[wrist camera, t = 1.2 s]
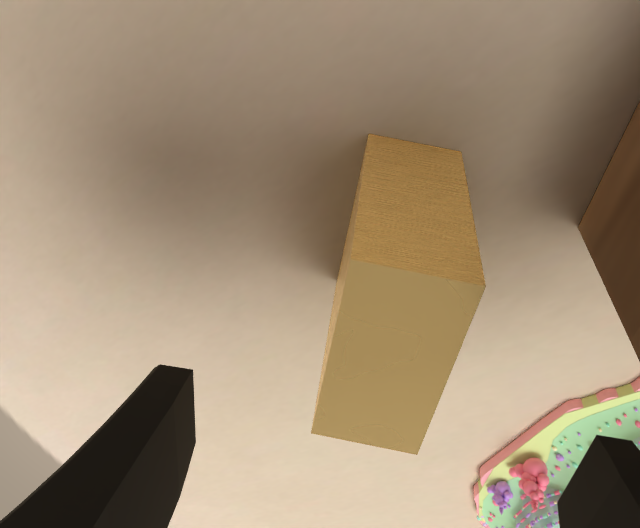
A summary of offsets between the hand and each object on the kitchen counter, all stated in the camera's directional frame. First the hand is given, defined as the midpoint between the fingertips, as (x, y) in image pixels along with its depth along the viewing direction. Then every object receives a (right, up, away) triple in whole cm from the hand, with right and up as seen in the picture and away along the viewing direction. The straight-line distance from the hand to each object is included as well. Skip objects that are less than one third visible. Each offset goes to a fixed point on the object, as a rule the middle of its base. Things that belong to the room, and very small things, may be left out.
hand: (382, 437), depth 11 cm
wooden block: (+1, +4, +6) cm, 8 cm away
